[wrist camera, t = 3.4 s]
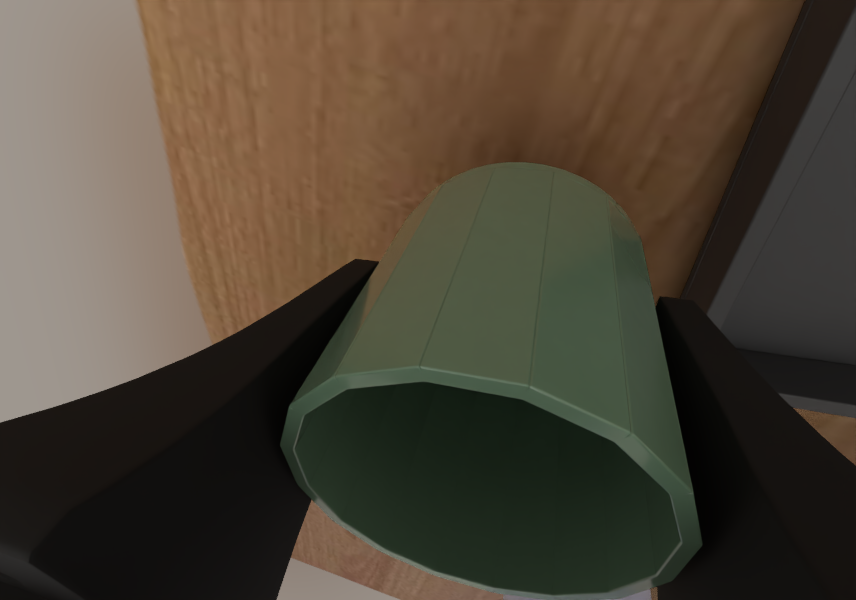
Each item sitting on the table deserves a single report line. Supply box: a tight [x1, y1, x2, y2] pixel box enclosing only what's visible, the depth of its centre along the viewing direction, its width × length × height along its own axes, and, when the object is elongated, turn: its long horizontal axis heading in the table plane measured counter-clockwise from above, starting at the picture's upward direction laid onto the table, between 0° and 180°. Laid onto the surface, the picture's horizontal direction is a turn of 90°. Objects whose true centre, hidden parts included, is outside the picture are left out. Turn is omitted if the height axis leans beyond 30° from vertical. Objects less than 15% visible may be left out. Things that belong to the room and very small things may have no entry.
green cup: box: [280, 162, 703, 600], centre depth 9 cm, size 6×6×6 cm
